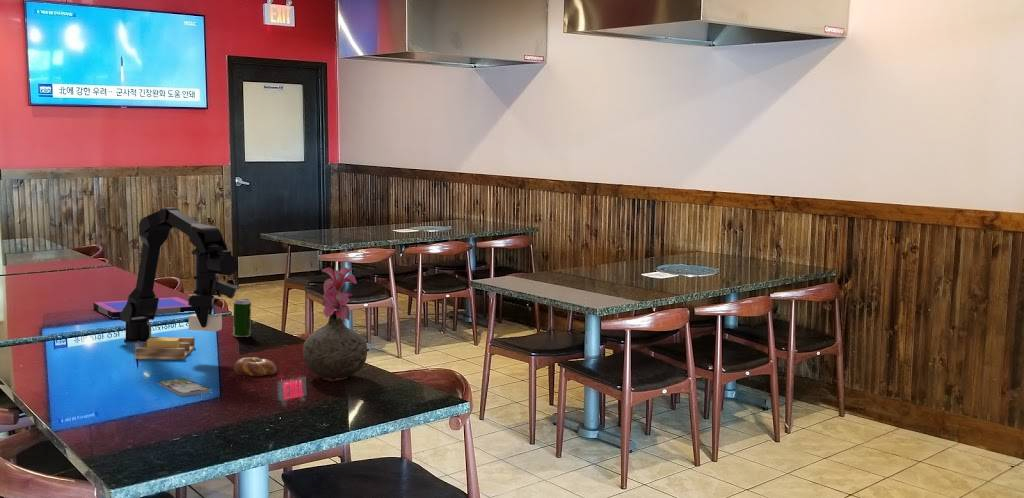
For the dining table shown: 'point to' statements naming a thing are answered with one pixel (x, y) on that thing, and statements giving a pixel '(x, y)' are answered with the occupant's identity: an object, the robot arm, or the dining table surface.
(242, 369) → the pretzel
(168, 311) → the book
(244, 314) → the beer can
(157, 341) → the ochre bar
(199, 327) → the cream bar
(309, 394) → the dining table surface
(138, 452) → the dining table surface
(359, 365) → the vase
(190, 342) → the comb board
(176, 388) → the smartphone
